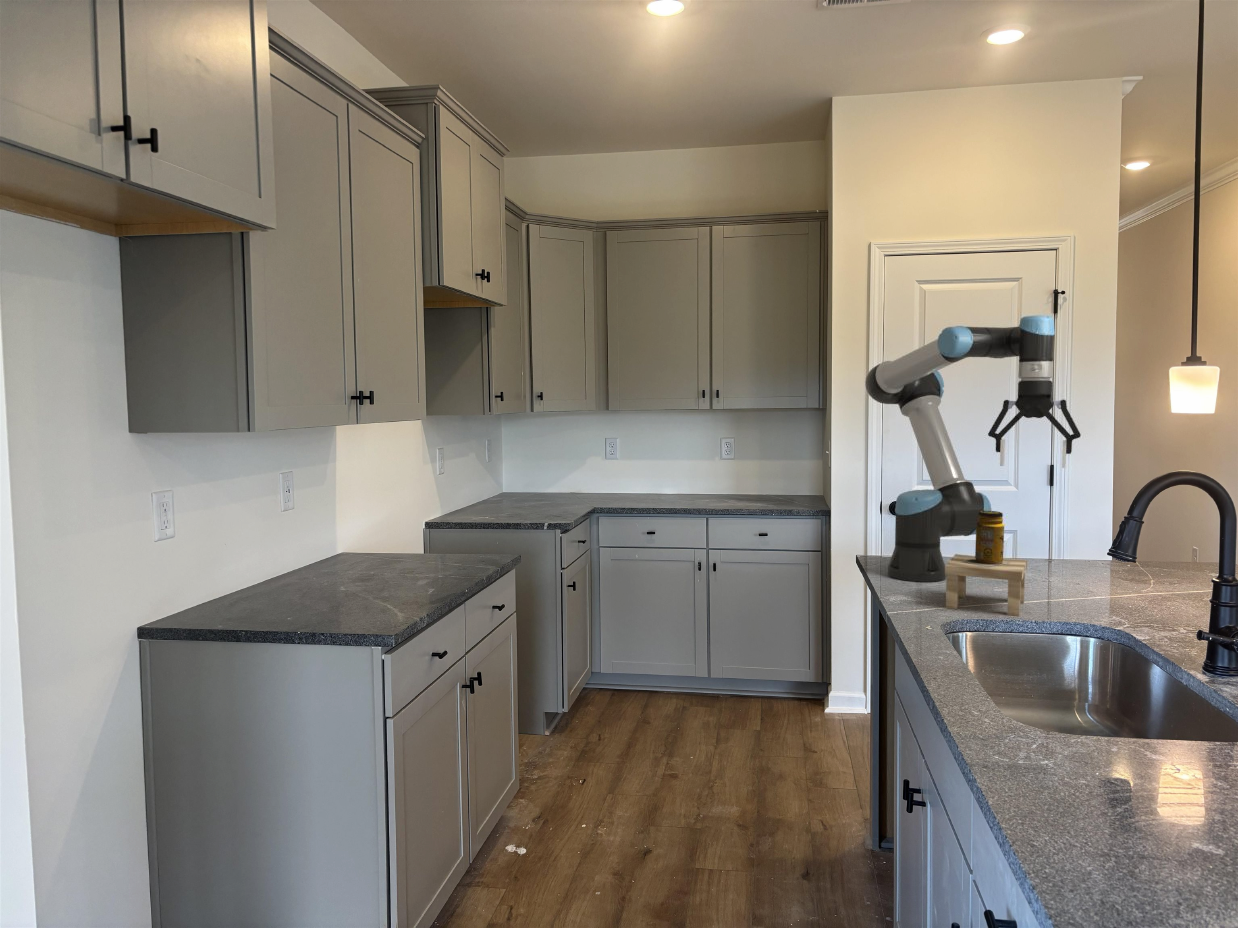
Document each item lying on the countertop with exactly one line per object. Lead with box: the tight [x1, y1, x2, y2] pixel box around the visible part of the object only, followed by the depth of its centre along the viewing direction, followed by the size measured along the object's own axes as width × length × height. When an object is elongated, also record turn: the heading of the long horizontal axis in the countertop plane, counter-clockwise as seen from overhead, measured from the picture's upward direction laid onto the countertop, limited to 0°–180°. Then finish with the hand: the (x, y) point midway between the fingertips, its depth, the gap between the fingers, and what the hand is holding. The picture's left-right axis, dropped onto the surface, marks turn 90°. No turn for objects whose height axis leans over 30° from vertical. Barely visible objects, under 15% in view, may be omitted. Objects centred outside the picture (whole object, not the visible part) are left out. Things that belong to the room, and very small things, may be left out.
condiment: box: [963, 510, 1011, 567], centre depth 194 cm, size 7×8×12 cm
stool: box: [945, 553, 1028, 617], centre depth 195 cm, size 16×16×10 cm
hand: (1032, 466), depth 204 cm, fingers open, 13 cm apart
